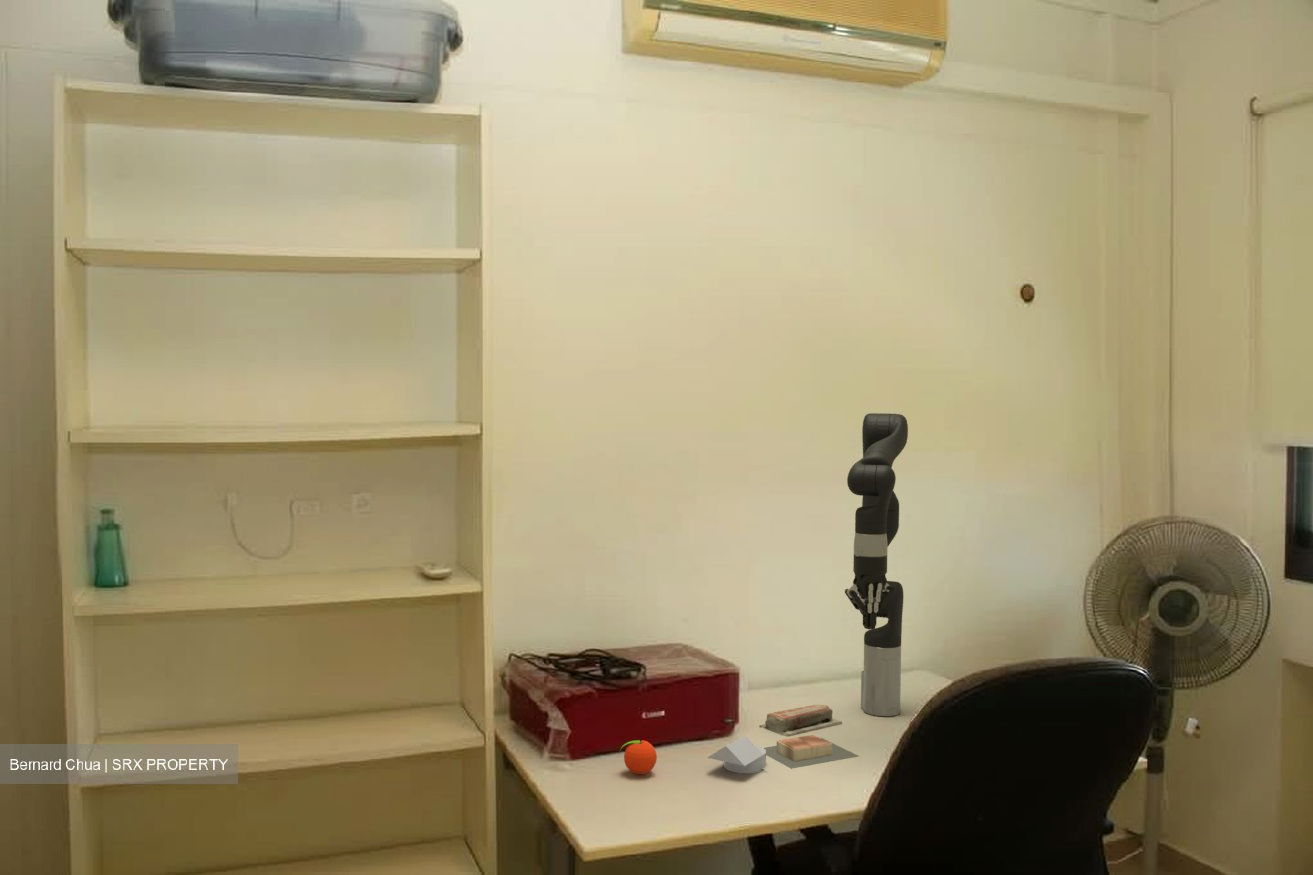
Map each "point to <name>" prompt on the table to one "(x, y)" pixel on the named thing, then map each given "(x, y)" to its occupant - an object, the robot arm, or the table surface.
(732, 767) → the wedge on round base
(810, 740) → the birch tile
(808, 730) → the packaged product
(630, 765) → the clementine
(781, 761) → the mat
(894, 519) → the robot arm
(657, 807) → the table surface
